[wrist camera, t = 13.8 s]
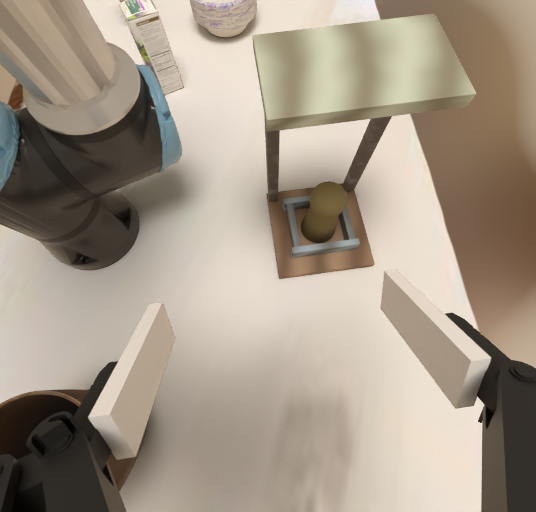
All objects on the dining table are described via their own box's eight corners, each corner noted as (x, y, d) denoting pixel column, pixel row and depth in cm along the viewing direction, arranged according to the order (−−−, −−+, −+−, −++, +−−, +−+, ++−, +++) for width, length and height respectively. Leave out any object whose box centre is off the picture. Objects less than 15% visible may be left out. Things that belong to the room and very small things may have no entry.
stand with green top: (276, 279, 44) (279, 190, 19) (264, 195, 50) (252, 35, 24) (374, 265, 45) (511, 160, 19) (352, 183, 50) (434, 13, 24)
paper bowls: (245, -1, 68) (242, -43, 61) (266, 36, 64) (265, -5, 56) (189, 14, 67) (179, -27, 59) (206, 53, 62) (197, 13, 55)
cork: (313, 206, 47) (324, 167, 37) (341, 224, 46) (361, 189, 36) (293, 230, 46) (299, 197, 36) (322, 250, 45) (336, 221, 34)
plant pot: (193, 432, 38) (139, 491, 23) (105, 521, 35) (-26, 659, 20) (135, 351, 41) (55, 356, 26) (51, 425, 38) (-95, 480, 23)
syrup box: (152, 80, 60) (115, 2, 46) (176, 71, 61) (147, -9, 47) (160, 97, 58) (125, 21, 44) (185, 87, 59) (158, 9, 45)
